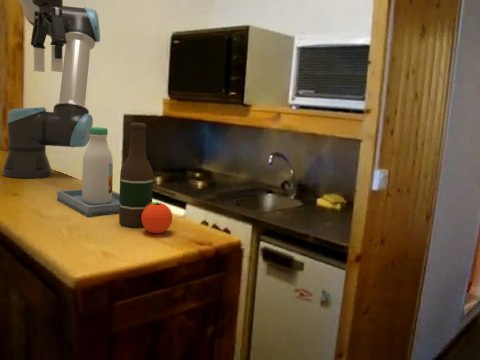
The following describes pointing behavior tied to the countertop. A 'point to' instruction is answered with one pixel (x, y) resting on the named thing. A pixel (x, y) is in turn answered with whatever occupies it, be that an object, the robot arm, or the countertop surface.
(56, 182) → the countertop surface
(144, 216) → the tomato
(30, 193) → the countertop surface
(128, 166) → the beer bottle
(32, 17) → the robot arm
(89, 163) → the milk bottle
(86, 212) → the slate tray
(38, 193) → the countertop surface
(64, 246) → the countertop surface
